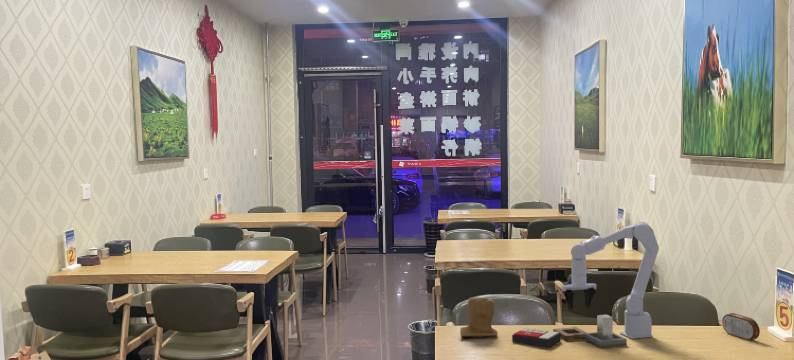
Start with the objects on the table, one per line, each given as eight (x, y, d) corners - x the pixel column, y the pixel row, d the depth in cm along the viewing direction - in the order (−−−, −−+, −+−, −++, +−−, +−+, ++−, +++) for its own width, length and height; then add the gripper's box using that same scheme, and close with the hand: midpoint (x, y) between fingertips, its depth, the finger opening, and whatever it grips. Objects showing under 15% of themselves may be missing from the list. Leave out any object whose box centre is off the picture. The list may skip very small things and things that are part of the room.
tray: (609, 337, 243) (609, 331, 243) (626, 345, 232) (626, 338, 232) (584, 339, 240) (584, 333, 240) (600, 348, 230) (600, 341, 230)
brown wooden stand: (493, 330, 255) (493, 293, 254) (499, 339, 243) (499, 300, 242) (456, 331, 254) (456, 294, 254) (460, 340, 243) (460, 301, 242)
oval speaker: (760, 342, 235) (760, 319, 234) (754, 343, 234) (754, 320, 233) (726, 331, 249) (726, 310, 249) (720, 332, 248) (720, 311, 247)
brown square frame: (575, 331, 251) (575, 326, 251) (589, 338, 242) (589, 333, 241) (553, 333, 249) (553, 328, 249) (565, 341, 239) (565, 335, 239)
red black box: (524, 326, 248) (560, 330, 239) (524, 337, 248) (561, 342, 239) (511, 333, 239) (548, 337, 230) (512, 344, 239) (549, 349, 230)
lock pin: (606, 338, 239) (606, 314, 239) (612, 341, 235) (612, 317, 235) (597, 338, 238) (597, 315, 238) (602, 341, 234) (602, 317, 234)
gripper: (589, 271, 257) (589, 304, 258) (557, 273, 254) (557, 306, 254) (599, 274, 251) (599, 308, 251) (566, 276, 247) (566, 310, 248)
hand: (579, 307), depth 252 cm, fingers open, 7 cm apart
